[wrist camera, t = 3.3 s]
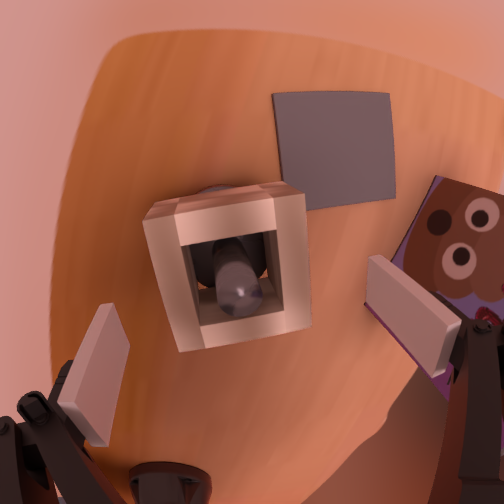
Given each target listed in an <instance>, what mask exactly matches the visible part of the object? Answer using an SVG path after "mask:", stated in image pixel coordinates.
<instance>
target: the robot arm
mask: <svg viewBox="0 0 504 504" xmlns="http://www.w3.org/2000/svg"><path fill="white" fill-rule="evenodd" d="M366 302H367V303H368V305H369V306H370V307H371V308H372V309H373V310H374V311H375V312H376V314H377V315H378V316H379V317H380V318H381V319H382V320H383V321H384V323H385V324H386V325H387V326H388V327H389V328H390V329H391V331H392V332H393V333H394V334H395V335H396V336H397V338H398V339H399V340H400V341H401V342H402V343H403V345H404V346H405V347H406V348H407V349H408V350H409V352H410V353H411V354H412V355H413V356H414V357H415V359H416V360H417V361H418V362H419V363H420V365H421V366H422V367H423V368H424V369H425V371H426V372H427V373H428V374H429V375H430V377H431V378H434V377H436V376H438V375H440V374H442V373H444V372H445V371H446V368H447V365H448V363H449V362H450V363H451V364H452V365H453V366H454V367H453V369H452V372H451V374H450V377H449V379H448V382H447V385H449V383H450V381H451V384H450V394H449V403H448V411H447V419H446V425H445V431H444V437H443V443H442V448H441V453H440V458H439V462H438V467H437V471H436V475H435V479H434V483H433V487H432V490H431V494H430V497H429V501H428V504H504V481H501V480H500V479H499V466H500V456H501V437H502V418H503V422H504V323H503V324H502V325H496V326H492V325H491V324H490V323H489V322H487V321H485V320H482V319H473V320H471V319H470V318H468V317H467V316H466V315H465V314H464V313H462V312H461V311H460V310H459V309H458V308H456V307H455V306H453V304H452V303H450V302H449V301H447V299H445V298H444V297H443V296H442V295H440V294H438V293H436V292H434V291H427V290H425V289H424V288H423V287H422V286H420V285H419V284H418V283H417V282H415V281H414V280H413V279H412V278H410V277H409V276H408V275H407V274H405V273H404V272H403V271H402V270H400V269H399V268H398V267H396V266H395V265H394V264H393V263H391V262H390V261H389V260H387V259H386V258H385V257H383V256H382V255H381V254H379V255H374V256H369V257H368V271H367V290H366ZM129 349H130V344H129V341H128V339H127V336H126V334H125V332H124V329H123V327H122V324H121V322H120V319H119V316H118V314H117V311H116V309H115V306H114V303H107V304H101V305H100V306H99V308H98V310H97V312H96V314H95V316H94V318H93V320H92V322H91V324H90V326H89V328H88V330H87V332H86V335H85V337H84V339H83V341H82V343H81V345H80V348H79V350H78V352H77V354H76V357H75V359H74V360H68V361H67V362H66V363H65V364H64V366H63V367H62V368H61V370H60V372H59V374H58V378H57V379H56V381H55V385H54V386H53V388H52V390H51V393H50V395H49V398H48V400H46V398H45V397H44V395H43V394H42V393H41V392H38V391H31V392H29V393H27V394H25V395H24V396H23V397H21V399H20V400H19V401H18V405H17V411H18V413H19V414H20V415H21V416H22V417H23V419H24V420H25V421H26V422H23V423H18V424H16V423H15V421H14V420H13V419H12V418H11V417H9V416H2V417H0V504H127V503H126V502H125V501H124V500H123V498H122V497H121V496H120V495H119V493H118V492H117V491H116V490H115V488H114V487H113V486H112V485H111V483H110V482H109V481H108V479H107V478H106V477H105V475H104V474H103V473H102V471H101V470H100V468H99V467H98V466H97V464H96V463H95V461H94V460H93V458H92V457H91V455H90V454H89V452H88V451H87V450H86V448H85V447H84V446H83V445H84V441H85V439H86V440H87V441H88V442H89V444H90V445H91V446H93V447H108V446H109V440H110V435H111V429H112V424H113V419H114V414H115V409H116V404H117V400H118V395H119V391H120V386H121V382H122V378H123V373H124V369H125V365H126V361H127V357H128V353H129ZM53 480H54V481H53ZM54 482H55V484H56V486H57V488H58V490H59V491H60V493H61V495H62V497H57V493H56V489H55V485H54ZM129 486H130V489H131V492H132V495H133V499H134V502H135V504H208V503H209V500H210V496H211V493H212V483H211V478H210V476H209V475H208V474H207V473H205V472H204V471H202V470H200V469H197V468H194V467H191V466H187V465H183V464H177V463H167V462H154V463H145V464H141V465H138V466H136V467H134V468H132V469H131V471H130V474H129Z"/></svg>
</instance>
